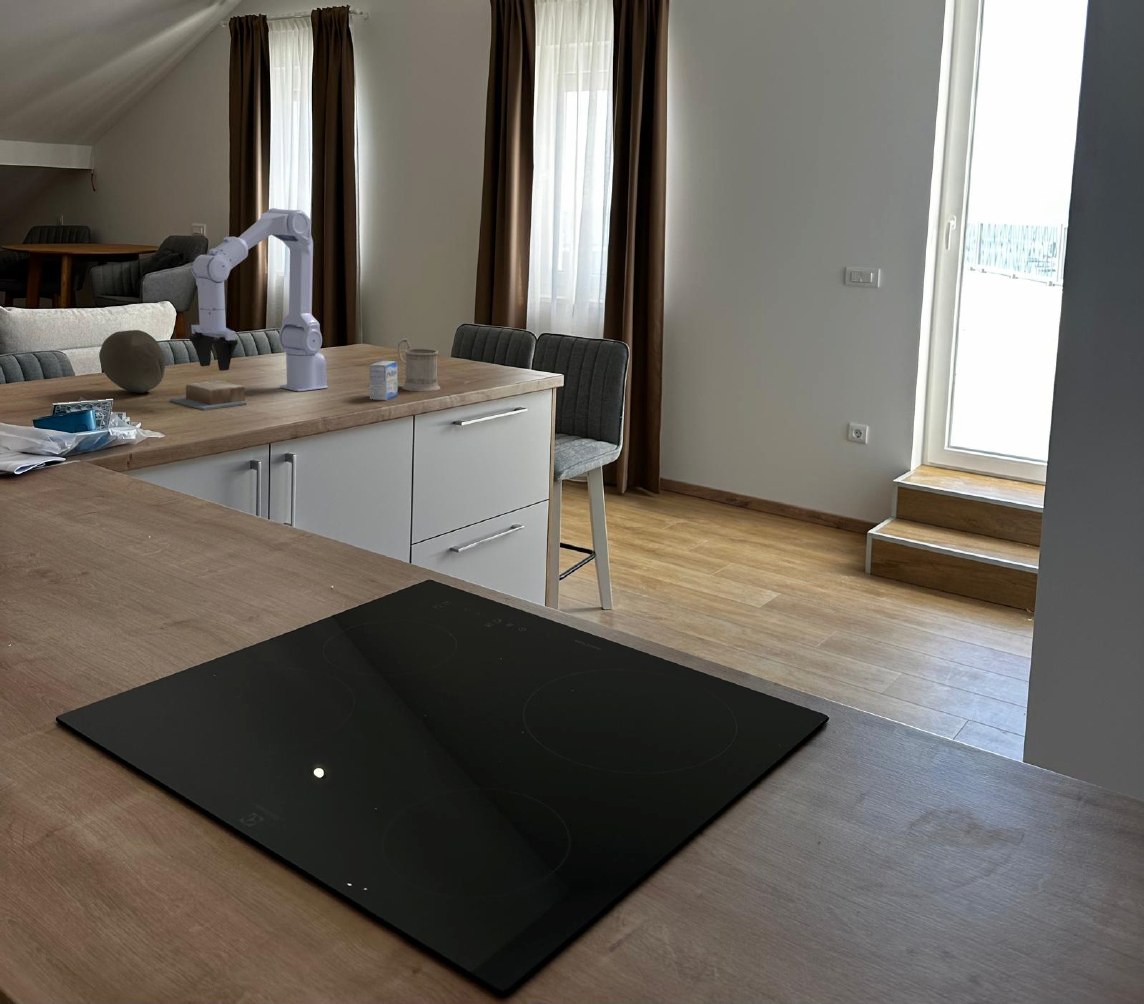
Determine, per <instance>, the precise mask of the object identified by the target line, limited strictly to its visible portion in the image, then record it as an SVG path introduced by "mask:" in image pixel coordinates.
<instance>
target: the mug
mask: <svg viewBox="0 0 1144 1004" xmlns="http://www.w3.org/2000/svg"><path fill="white" fill-rule="evenodd" d="M409 340H410V339H409V338H401V340H400V341H399V343H398V345H397V354H398V358H399V359H400V361H401V362H402V363H403V364H404V365H405V380H404V384H403V385H401V389H403V390H406V391H410V392H436V391H439V390H441V387H440V386H439V384H438V354H439V351H438V350H436V349H430V348H411V343H410V342H409ZM403 343H405V344H406V345H407V348H406V349H405V350H404V353H405V360H404V358H403V357H402V355H401V345H402V344H403Z"/></svg>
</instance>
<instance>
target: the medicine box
mask: <svg viewBox="0 0 1144 1004" xmlns="http://www.w3.org/2000/svg"><path fill="white" fill-rule="evenodd" d="M368 370H369V373H368V376H369V377H368V378H369V399H370V400H372V399H373V400H372V401H384V402H386V401H389V400H391V399H393V398H395V397H397V396H398V362H397V361H396V360H395V361H394V360H393V361H392V360H380V361H377V362H375V363H372V364H369V369H368ZM388 399H389V400H388Z"/></svg>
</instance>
